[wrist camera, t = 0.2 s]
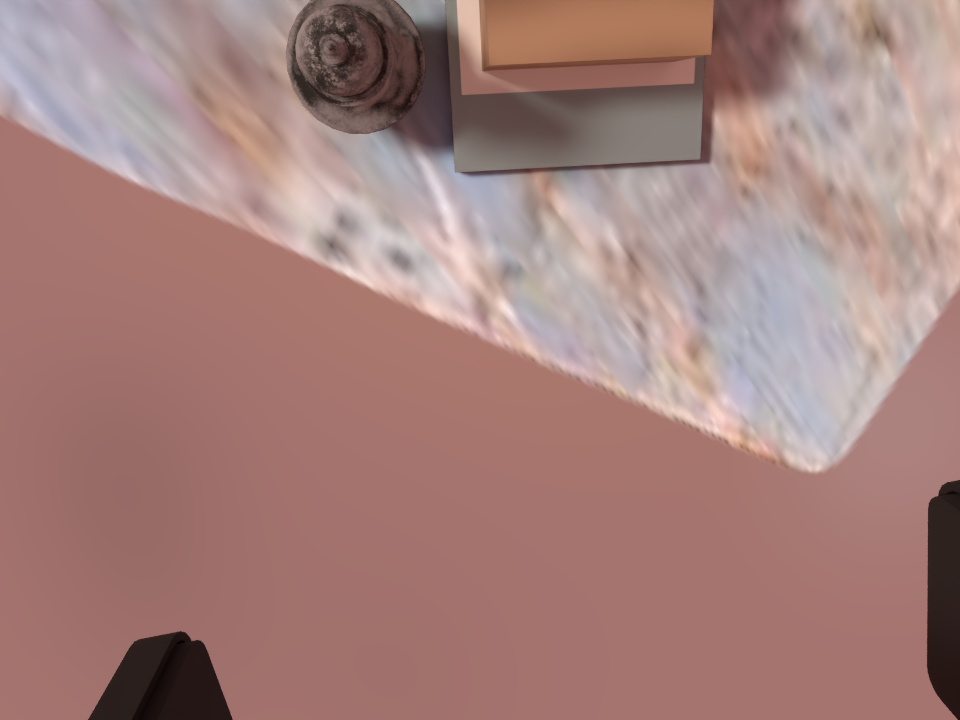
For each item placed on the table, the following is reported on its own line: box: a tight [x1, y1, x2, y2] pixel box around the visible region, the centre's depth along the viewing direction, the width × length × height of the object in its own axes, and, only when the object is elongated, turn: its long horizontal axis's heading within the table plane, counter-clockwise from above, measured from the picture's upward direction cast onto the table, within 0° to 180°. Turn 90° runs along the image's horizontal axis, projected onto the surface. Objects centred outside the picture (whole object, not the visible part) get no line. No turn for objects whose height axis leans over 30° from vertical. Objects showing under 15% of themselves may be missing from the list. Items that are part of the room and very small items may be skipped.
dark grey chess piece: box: [286, 0, 425, 134], centre depth 29 cm, size 6×6×12 cm
